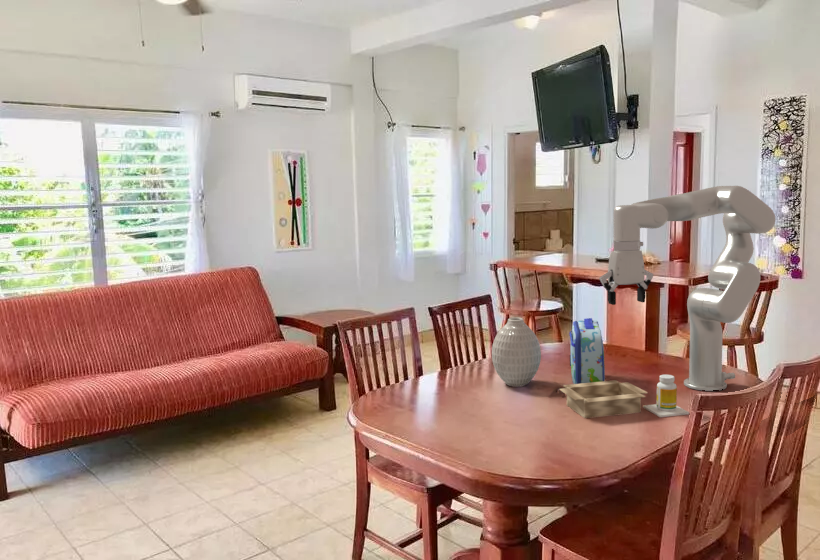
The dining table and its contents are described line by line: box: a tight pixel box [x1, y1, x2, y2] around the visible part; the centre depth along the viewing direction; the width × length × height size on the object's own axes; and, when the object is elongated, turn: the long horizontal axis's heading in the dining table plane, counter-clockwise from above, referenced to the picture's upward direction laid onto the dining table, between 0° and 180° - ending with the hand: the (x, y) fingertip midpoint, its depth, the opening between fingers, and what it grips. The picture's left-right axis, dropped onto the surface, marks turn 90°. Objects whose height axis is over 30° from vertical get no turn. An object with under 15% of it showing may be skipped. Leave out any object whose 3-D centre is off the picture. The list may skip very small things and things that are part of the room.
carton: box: [559, 379, 648, 419], centre depth 197 cm, size 22×17×6 cm
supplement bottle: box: [656, 374, 678, 411], centre depth 193 cm, size 5×5×10 cm
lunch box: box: [569, 317, 606, 384], centre depth 222 cm, size 26×11×21 cm, turn 168°
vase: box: [491, 317, 542, 388], centre depth 224 cm, size 16×16×22 cm
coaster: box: [642, 403, 690, 418], centre depth 194 cm, size 9×9×1 cm
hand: (626, 302), depth 203 cm, fingers open, 9 cm apart
